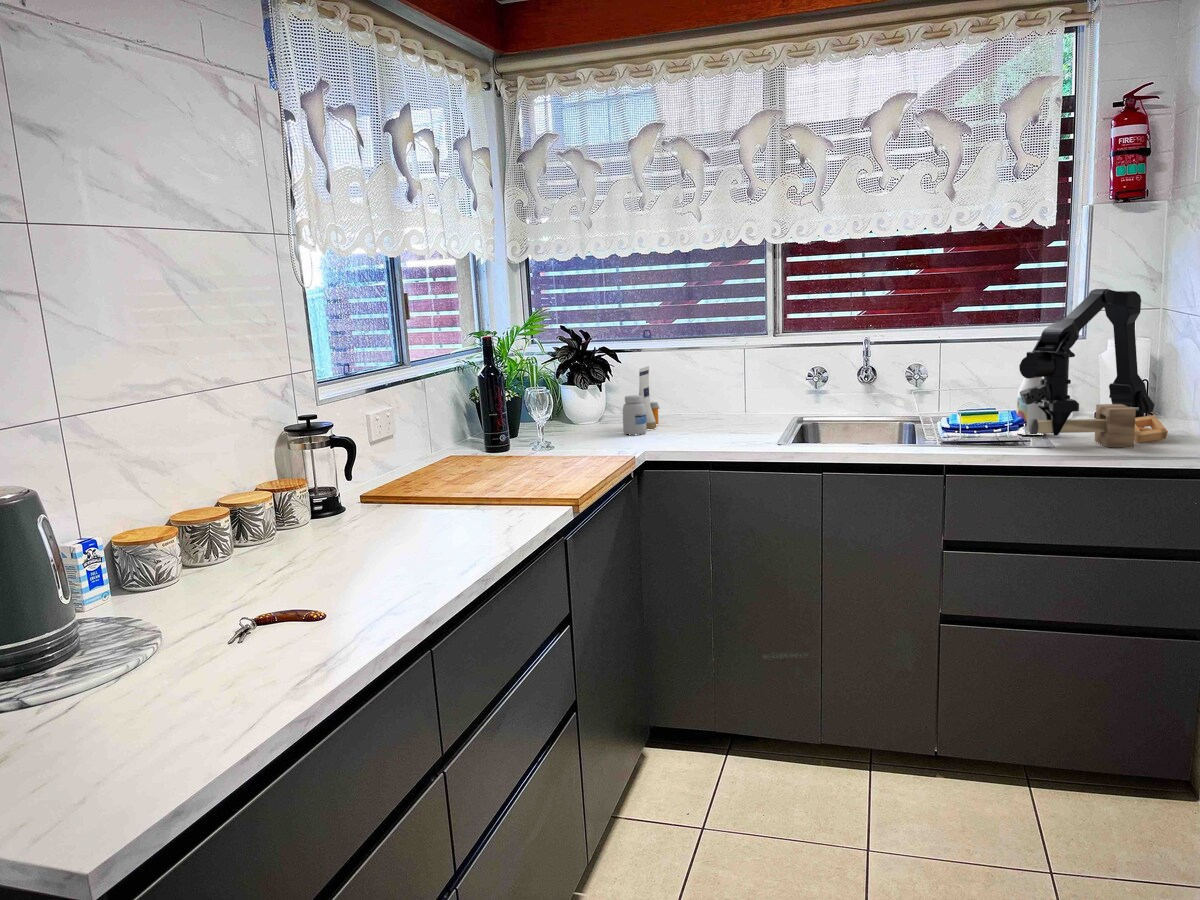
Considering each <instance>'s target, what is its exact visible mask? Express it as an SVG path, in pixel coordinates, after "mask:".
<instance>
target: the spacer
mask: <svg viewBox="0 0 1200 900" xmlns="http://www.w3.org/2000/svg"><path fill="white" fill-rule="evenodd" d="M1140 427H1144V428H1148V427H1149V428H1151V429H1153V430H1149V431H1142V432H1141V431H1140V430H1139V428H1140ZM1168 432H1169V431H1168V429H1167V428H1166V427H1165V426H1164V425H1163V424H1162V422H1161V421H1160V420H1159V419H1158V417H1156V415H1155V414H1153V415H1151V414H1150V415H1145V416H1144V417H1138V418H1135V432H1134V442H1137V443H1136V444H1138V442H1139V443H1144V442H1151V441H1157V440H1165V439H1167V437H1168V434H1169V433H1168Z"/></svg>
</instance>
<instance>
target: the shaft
mask: <svg viewBox="0 0 1200 900" xmlns="http://www.w3.org/2000/svg"><path fill="white" fill-rule="evenodd" d="M1105 424H1106V419H1096V418H1089V419H1087V418H1085V419H1081V418H1080V419H1079V418H1078V419H1067V420H1066V422H1065V424H1064V426H1063V427H1062V429H1061V431H1060V433H1059V434H1061V433H1063V434H1067V433H1070V434H1071V433H1074V434H1075V433H1079V434H1080V433H1095V432H1105ZM1029 431H1030V434H1037V433H1046V434H1053V429H1052V420H1037V419H1031V420H1030V422H1029Z"/></svg>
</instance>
